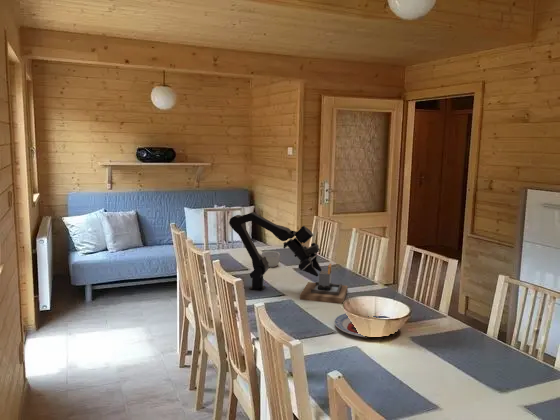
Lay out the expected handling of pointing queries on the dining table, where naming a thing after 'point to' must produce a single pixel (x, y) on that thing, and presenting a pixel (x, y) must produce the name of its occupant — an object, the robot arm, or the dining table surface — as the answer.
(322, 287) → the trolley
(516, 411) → the dining table surface
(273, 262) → the teacup
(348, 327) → the ceramic plate
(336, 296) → the dock
